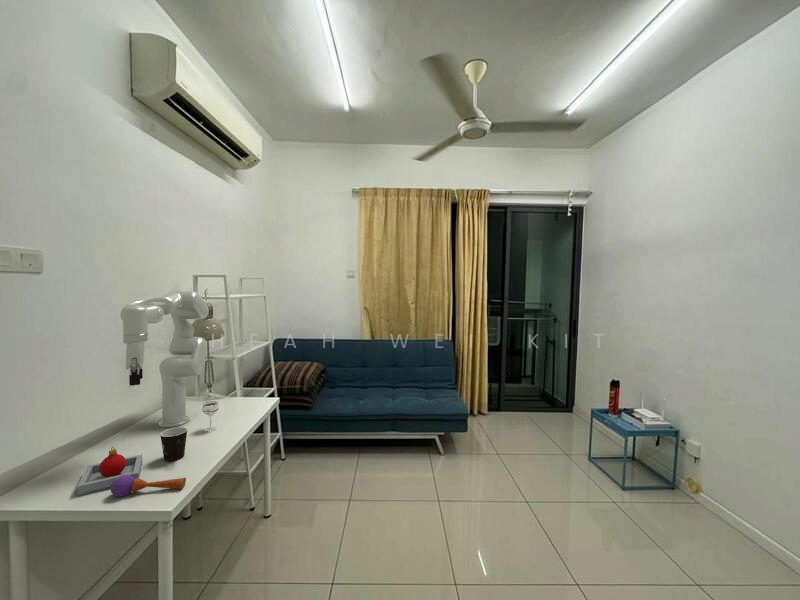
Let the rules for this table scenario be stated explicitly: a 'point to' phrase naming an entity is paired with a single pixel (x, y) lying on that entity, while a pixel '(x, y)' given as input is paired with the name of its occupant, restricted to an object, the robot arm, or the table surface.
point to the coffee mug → (173, 443)
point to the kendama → (142, 484)
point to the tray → (97, 482)
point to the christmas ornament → (112, 464)
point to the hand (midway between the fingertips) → (136, 381)
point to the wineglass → (210, 411)
